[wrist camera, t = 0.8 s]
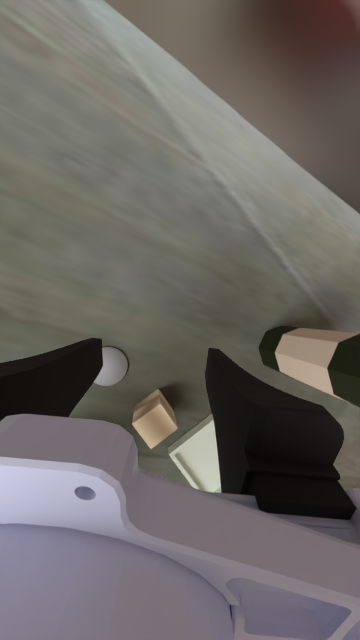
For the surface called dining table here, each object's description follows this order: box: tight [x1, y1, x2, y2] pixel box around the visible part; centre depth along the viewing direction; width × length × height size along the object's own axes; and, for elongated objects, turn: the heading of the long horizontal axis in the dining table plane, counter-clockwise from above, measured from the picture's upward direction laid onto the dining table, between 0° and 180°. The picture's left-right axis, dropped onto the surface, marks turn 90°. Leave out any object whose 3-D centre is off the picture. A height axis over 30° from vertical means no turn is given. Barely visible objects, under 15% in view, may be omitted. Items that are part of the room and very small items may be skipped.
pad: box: [94, 347, 128, 386], centre depth 27 cm, size 6×6×1 cm
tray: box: [168, 414, 221, 493], centre depth 30 cm, size 12×12×2 cm
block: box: [132, 389, 178, 449], centre depth 27 cm, size 4×4×5 cm
